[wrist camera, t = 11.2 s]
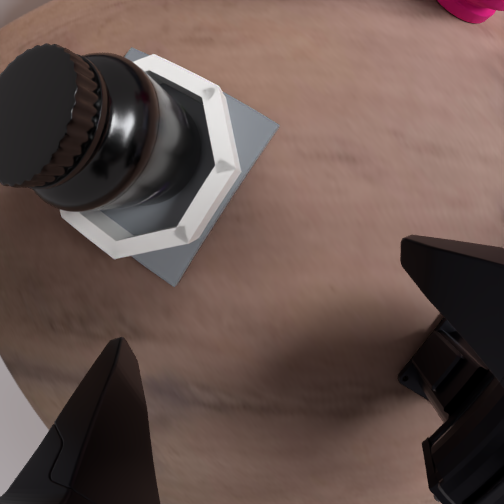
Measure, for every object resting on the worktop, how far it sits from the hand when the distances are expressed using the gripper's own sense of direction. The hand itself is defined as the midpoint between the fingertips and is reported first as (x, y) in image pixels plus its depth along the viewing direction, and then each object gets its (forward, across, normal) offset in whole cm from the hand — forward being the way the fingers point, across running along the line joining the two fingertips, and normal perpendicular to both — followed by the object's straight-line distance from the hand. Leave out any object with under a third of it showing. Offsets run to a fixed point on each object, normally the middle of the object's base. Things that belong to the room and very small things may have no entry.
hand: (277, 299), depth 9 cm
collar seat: (+14, +3, -3) cm, 15 cm away
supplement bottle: (+14, +2, -4) cm, 14 cm away
